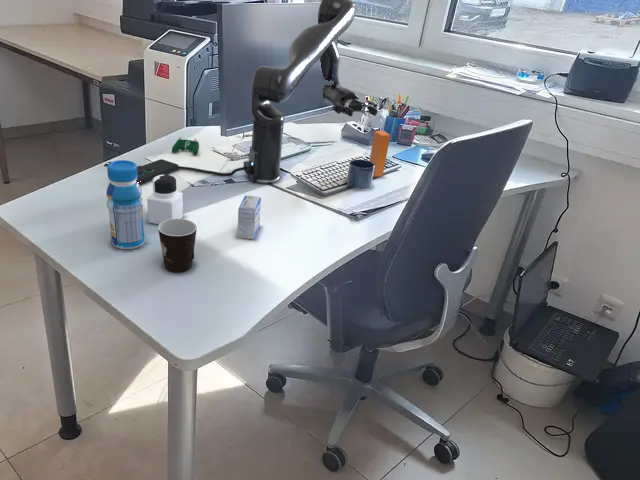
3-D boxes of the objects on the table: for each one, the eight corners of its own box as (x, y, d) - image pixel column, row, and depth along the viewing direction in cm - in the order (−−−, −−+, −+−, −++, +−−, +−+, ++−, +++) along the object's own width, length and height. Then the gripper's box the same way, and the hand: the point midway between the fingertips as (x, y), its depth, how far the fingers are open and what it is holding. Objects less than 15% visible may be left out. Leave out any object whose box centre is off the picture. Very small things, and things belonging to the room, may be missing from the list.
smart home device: (115, 174, 169) (160, 158, 183) (115, 180, 170) (161, 163, 184) (134, 182, 165) (179, 164, 179) (134, 187, 166) (179, 169, 180)
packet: (373, 178, 180) (381, 135, 173) (367, 173, 184) (374, 130, 176) (382, 177, 181) (390, 135, 173) (375, 172, 185) (383, 130, 177)
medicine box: (254, 240, 141) (256, 208, 137) (236, 237, 142) (238, 206, 137) (259, 226, 148) (261, 196, 143) (243, 224, 148) (244, 194, 144)
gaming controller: (198, 159, 194) (202, 143, 195) (196, 153, 190) (200, 137, 191) (173, 155, 195) (177, 140, 196) (170, 150, 191) (174, 135, 193)
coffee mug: (160, 256, 132) (158, 218, 127) (196, 256, 133) (196, 218, 128) (158, 282, 123) (156, 242, 117) (197, 282, 124) (197, 242, 118)
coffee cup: (352, 190, 171) (356, 169, 167) (342, 181, 177) (345, 160, 173) (375, 189, 173) (379, 167, 169) (364, 179, 179) (368, 158, 175)
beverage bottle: (129, 254, 133) (123, 174, 122) (103, 244, 136) (95, 165, 125) (152, 240, 139) (148, 163, 128) (126, 231, 142) (120, 155, 131)
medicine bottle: (183, 216, 151) (182, 174, 144) (172, 227, 145) (171, 184, 139) (159, 212, 153) (157, 170, 146) (147, 222, 147) (145, 179, 140)
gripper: (326, 89, 190) (345, 101, 177) (364, 88, 194) (385, 100, 181) (323, 111, 195) (342, 125, 182) (360, 110, 198) (381, 123, 185)
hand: (363, 113), depth 181 cm, fingers open, 8 cm apart
